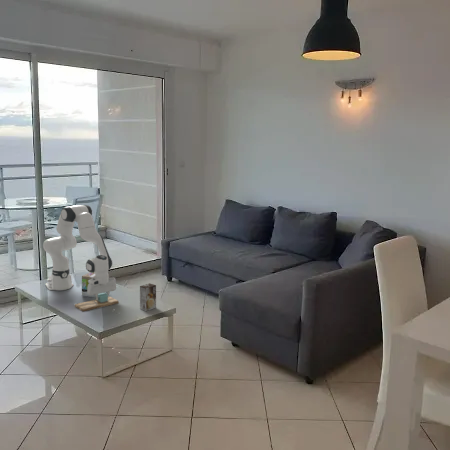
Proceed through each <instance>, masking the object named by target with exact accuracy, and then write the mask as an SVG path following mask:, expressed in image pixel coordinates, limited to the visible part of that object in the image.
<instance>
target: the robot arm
mask: <svg viewBox="0 0 450 450" xmlns="http://www.w3.org/2000/svg"><path fill="white" fill-rule="evenodd" d="M92 215H93V210H92V208H91V206H89V205H87V204H75V205H70V206H64V207H63V208H62V209H61V211H60V215H59V216H58V217H59V218H58V220H57V224H56V229H55V230H56V231H57V233H58V234H59V236H56V237H50V238H47V239H45V240H44V241H43V244H42V247H43V250H44V251H45V252H46V253H47V254H49V256H50V257H51V260H52V261H51V262H52V269H51V274H50V276H49V277H48V279H47V280H46V281H47V282H46V283H45V287H46V288H47V289H48V291H66V290H69V289H71V288H72V287H73V286H74V283H73V281H72V274H70V272H71V271H70V267H69V266H70V265H69V264H70V261H69V258H68V257H67V256H65V255H63V252H65V251H70V250H73V249H74V248H76V247H77V245H78V243H77V239H76V236H74V235H73V229H74V226H75V222H76V224H77V225H78V226H77V227H78V232H79V236H80V238H81V239H82V240H84V241H85V242H88V243H93V244H95V246H97V249H98V252H99V255H96V256H95V257H93V258H89V259H87V260H86V263H85V269H86V271H87V272H88V273H89V272H90V273H95V277H93V278H92V279H90V280H88V283H89V284H88V287H87V293H88V294H89V295H95V296H94V297H95V298H96V299H95V300H99V297H98V294H100V293H106V294H108V296H109V295H110V292H114V291H116V290H117V281H116V280H117V279H116V278H115V277H114V276H113V277H109V275H110V273H109V270H111V268H112V267H113V260H112V258H111V256H110V254H109V252H108V249H107V246H106V243H105V241H104V239H103V236H102V235H101V234H99V233H98V230H97V229H96V225H95V221H94V217H93V216H92Z"/></svg>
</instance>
